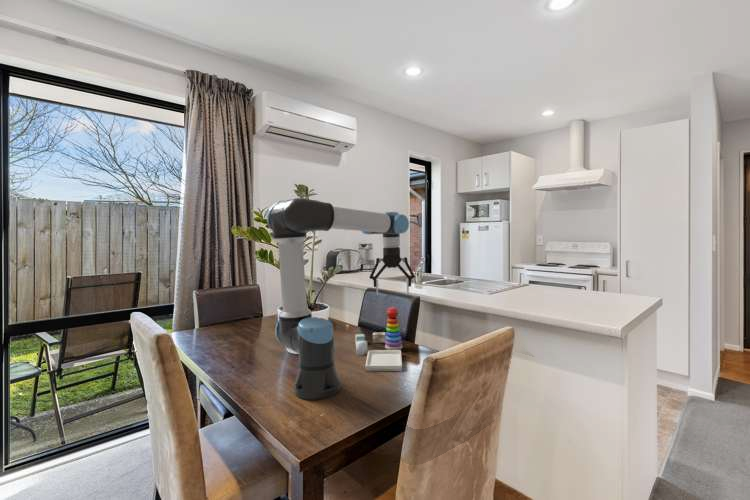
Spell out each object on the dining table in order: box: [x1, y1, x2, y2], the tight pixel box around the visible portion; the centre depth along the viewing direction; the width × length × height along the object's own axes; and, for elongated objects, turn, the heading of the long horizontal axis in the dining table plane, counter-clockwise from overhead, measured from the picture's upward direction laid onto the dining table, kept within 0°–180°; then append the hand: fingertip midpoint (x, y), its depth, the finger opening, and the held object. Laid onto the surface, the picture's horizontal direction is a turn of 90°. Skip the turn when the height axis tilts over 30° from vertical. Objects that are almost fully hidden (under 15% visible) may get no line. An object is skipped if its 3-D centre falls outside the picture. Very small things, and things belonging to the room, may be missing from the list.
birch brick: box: [372, 331, 386, 344], centre depth 172 cm, size 6×4×4 cm, turn 88°
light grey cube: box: [355, 340, 369, 356], centre depth 155 cm, size 5×5×5 cm
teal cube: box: [354, 333, 366, 344], centre depth 169 cm, size 4×4×4 cm
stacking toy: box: [384, 306, 403, 351], centre depth 160 cm, size 8×8×19 cm
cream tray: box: [364, 349, 403, 372], centre depth 144 cm, size 14×18×2 cm
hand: (392, 294), depth 159 cm, fingers open, 13 cm apart
